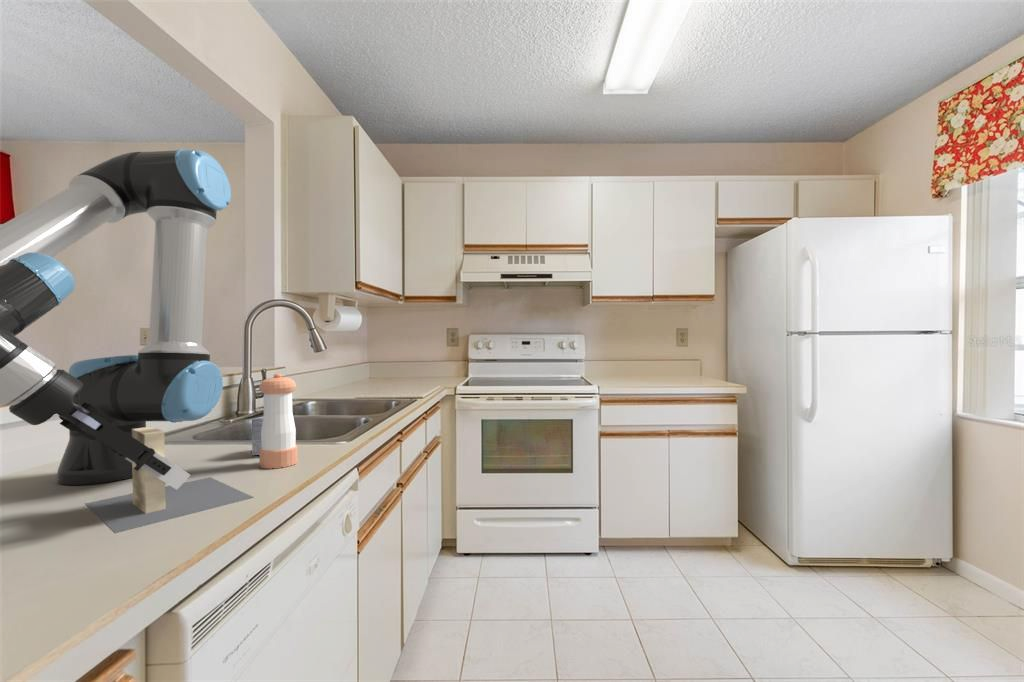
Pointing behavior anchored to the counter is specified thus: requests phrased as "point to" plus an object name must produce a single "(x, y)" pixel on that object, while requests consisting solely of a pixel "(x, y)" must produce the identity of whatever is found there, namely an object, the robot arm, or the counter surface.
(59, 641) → the counter surface
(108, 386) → the robot arm
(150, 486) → the birch block
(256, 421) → the medicine box
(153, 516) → the mat
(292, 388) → the salt shaker
